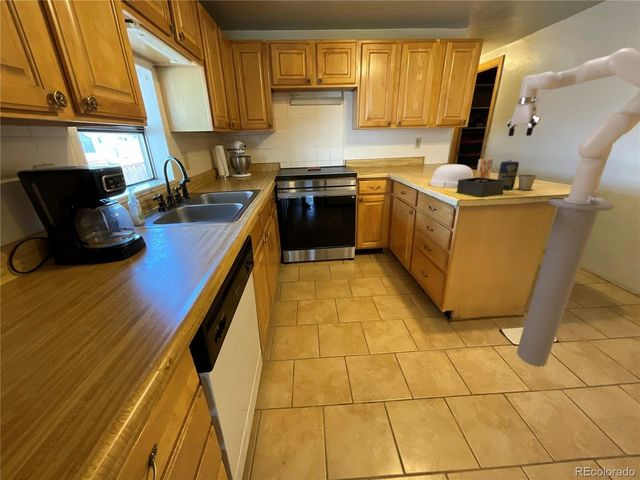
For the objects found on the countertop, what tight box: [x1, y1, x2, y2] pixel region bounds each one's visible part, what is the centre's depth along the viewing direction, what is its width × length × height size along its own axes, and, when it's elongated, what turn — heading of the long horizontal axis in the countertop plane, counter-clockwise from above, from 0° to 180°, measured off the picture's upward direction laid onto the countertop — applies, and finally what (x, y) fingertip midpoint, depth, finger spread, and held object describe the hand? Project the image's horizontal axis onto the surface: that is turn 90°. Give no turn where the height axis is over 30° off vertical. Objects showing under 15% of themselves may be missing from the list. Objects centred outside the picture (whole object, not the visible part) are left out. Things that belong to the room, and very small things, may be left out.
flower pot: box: [517, 174, 538, 191], centre depth 166 cm, size 9×9×9 cm
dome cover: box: [429, 163, 474, 189], centre depth 192 cm, size 32×30×14 cm
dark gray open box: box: [456, 177, 505, 198], centre depth 162 cm, size 18×18×8 cm
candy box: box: [475, 158, 494, 179], centre depth 208 cm, size 9×4×15 cm, turn 91°
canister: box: [497, 159, 520, 190], centre depth 169 cm, size 10×10×18 cm
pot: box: [475, 179, 488, 183], centre depth 161 cm, size 7×7×7 cm
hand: (519, 135), depth 149 cm, fingers open, 9 cm apart
